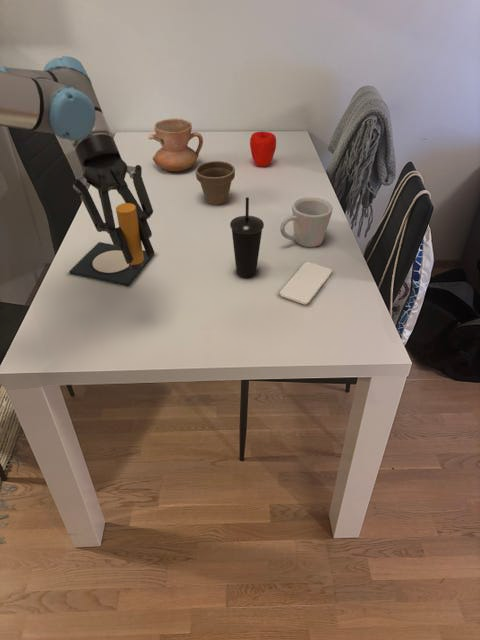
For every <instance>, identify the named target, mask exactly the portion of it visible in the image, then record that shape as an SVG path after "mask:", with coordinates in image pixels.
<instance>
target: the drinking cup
mask: <svg viewBox="0 0 480 640" xmlns="http://www.w3.org/2000/svg"><path fill="white" fill-rule="evenodd" d="M249 209H250V198H249V197H245V215H239V216H236V217H234V218H233V219H231V221H230V222H229V227H230V229H231V235H232V243H233V244H232V245H233V254H234V262H235V268H236V269H235V270H236V275H237V276H238V277H240V278H242V279H251V278H254V277H255V276H256V274H257V270H258V263H259V255H260V248H261V240H262V233H263V229H264V226H265V224H264V221H263V220H262V218H259V217H257V216H255V215H249V213H250V212H249V211H250V210H249Z"/></svg>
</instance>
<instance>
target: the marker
mask: <svg viewBox="0 0 480 640" xmlns="http://www.w3.org/2000/svg"><path fill="white" fill-rule="evenodd" d="M115 213H116V218H117V222H118V227H120V228H121V230H122V233H123V235H124V237H125V240H126V242H127V245H128V247H129V250H130V252H131V255H132V257H133V261H132V262H131V263H129V268H130V269H132V270H138V269H140V268H142V262H143V260H144V256H143V251H144V250H143V244H142V241H141V237H140V230H139V224H138V217H137V211H136V206H135V205H134V204H131V203H125V202H124V203H120V204H118V205H116V207H115ZM125 261H126V260H125ZM126 263H127V262H126Z"/></svg>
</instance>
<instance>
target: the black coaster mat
mask: <svg viewBox="0 0 480 640" xmlns="http://www.w3.org/2000/svg"><path fill="white" fill-rule="evenodd" d="M143 256H144V260H143V262H142V268H140V269H138V270H132V269H130V268H129V264H127V263H126V261H125V257H124V255H123V253H122V250H121V248H120V247H118V248H116V247H115V246H114V244H113V243H106V242H101V241H99V242H98V243H96V244H95V245H94V246H93V247H92V248H91V250H89V251H88V253H86V254H85V255H84V256H83V257H82V258H81V259H80V260H79V261H78V262H77V263H76V264H75V265H74V266H73V267H72V268H71V269H70V270H69V274H70V275H74V276H79V277H82V278H88V279H92V280H98V281H102V282H106V283H112V284H117V285H122V286H126V287H129V286H130V285H131V284H132V282H133V281H134V280H135V279H136V278H137V277H138V275H139V274H140V273H141V272H142V271H143V269H144V268H145V267H146V266H147V264H148V263H149V262H150V260H151V259H153V257H154V256H155V253H154V254H153V255H152V256H151V257H148V256H147V254H146V251H145V250H143Z"/></svg>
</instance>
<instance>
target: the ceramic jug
mask: <svg viewBox="0 0 480 640" xmlns="http://www.w3.org/2000/svg"><path fill="white" fill-rule="evenodd" d="M153 127H154V129H153V130H154V132H155V134H154V133H151V134H148V135H147V138H148V140H154V141H156V142H158V143H159V144H160V145H161V147H160V148H159V149H158V150H157V151H156V152H155V154H154V155H153V156H152V161H153V162H154V164H155V165H156V166H157V167H158V168H160V169H161V170H163V171H169V172H181V171H186V170H188V169H191V168H193V166H195V165H196V164H197V161H198V158H199V155H200V152H201V150H202V148H203V145H204V144H203V143H204V137H203V135H202V134H201V133H200V132H198V131H193V132H192V129H193V125H192V122H191V121H190V120H188V119H183V118H166V119H162V120H159V121H157V122H155V123H154V125H153ZM195 137H197V139H198V146H197V148H196V151H195V150H194V149H193V148H191V147H189V146H188V145H189V142H190V141H191V140H192V139H193V138H195Z"/></svg>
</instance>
